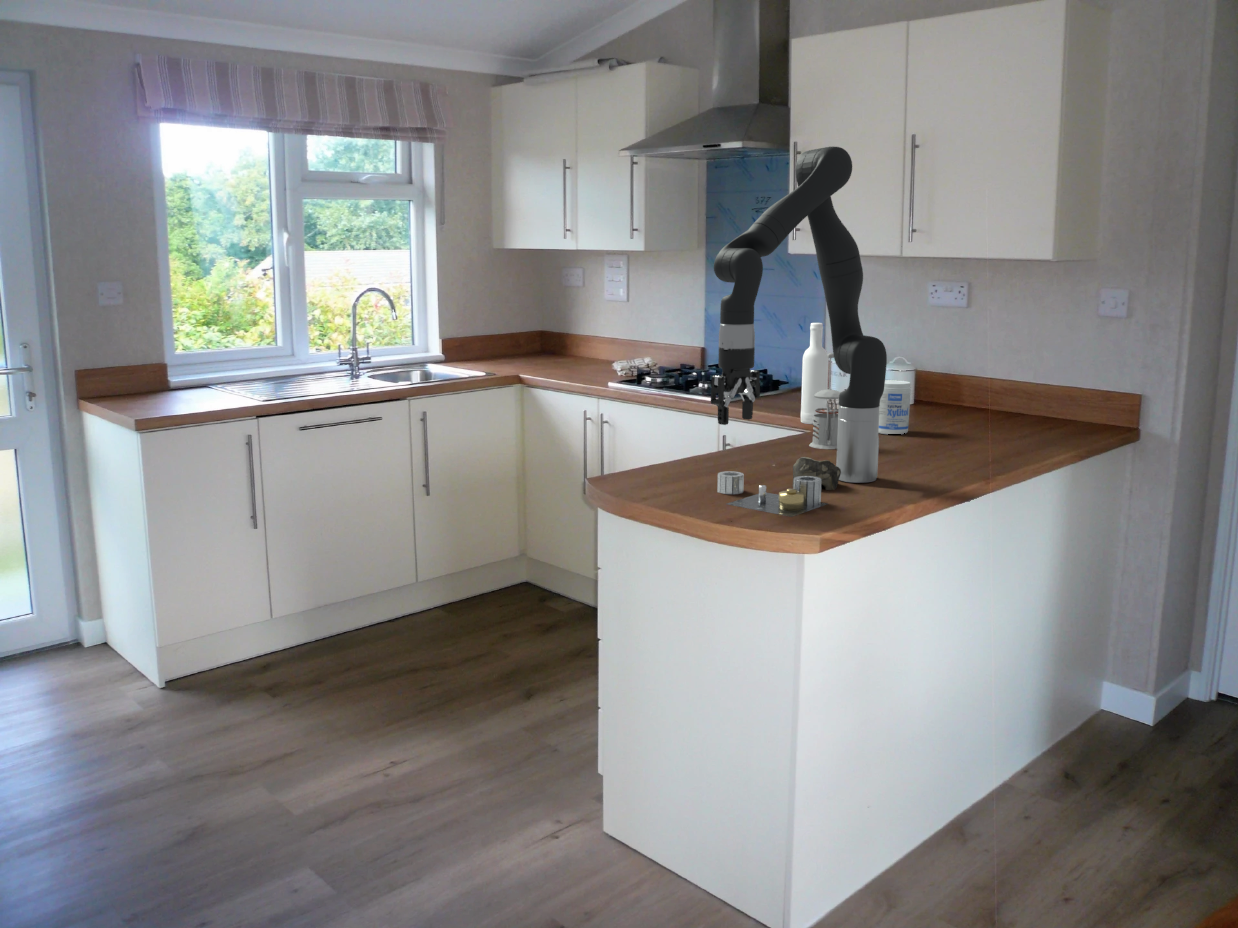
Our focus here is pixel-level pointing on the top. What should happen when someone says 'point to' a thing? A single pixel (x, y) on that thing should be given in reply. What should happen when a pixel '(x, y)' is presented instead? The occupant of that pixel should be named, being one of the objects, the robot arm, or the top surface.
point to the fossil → (818, 471)
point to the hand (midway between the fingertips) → (735, 421)
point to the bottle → (814, 375)
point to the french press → (826, 419)
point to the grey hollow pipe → (809, 489)
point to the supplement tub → (894, 407)
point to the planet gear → (730, 482)
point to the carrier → (777, 502)
